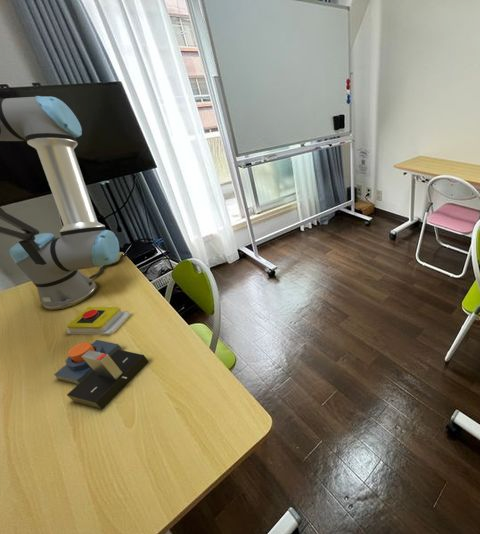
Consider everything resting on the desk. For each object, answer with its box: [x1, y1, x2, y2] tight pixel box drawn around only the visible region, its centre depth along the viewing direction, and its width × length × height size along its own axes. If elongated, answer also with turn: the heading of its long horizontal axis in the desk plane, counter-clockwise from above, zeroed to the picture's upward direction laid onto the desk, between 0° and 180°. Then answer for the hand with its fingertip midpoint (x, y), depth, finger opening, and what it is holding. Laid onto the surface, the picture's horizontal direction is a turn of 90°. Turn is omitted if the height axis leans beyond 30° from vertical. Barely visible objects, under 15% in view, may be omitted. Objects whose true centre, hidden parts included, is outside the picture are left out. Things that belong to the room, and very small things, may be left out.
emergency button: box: [66, 306, 131, 336], centre depth 93 cm, size 9×4×15 cm
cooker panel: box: [66, 350, 149, 410], centre depth 76 cm, size 14×11×3 cm
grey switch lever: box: [81, 350, 123, 380], centre depth 73 cm, size 6×2×8 cm, turn 75°
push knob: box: [67, 341, 95, 363], centre depth 79 cm, size 5×5×3 cm
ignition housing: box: [53, 339, 123, 385], centre depth 81 cm, size 12×8×4 cm, turn 166°
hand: (10, 279), depth 70 cm, fingers open, 13 cm apart
